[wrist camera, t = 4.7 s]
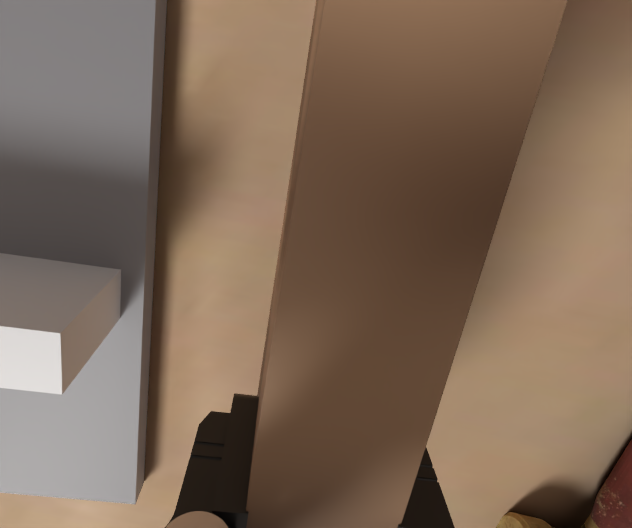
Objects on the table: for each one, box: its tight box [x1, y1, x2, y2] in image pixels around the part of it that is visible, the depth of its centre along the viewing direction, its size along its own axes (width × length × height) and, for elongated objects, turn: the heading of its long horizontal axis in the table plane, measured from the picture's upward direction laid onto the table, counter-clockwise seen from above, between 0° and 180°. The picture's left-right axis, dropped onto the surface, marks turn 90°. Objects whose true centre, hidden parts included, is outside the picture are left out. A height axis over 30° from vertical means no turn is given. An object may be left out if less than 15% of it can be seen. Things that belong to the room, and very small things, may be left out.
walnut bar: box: [246, 0, 568, 528], centre depth 12 cm, size 24×3×6 cm, turn 170°
